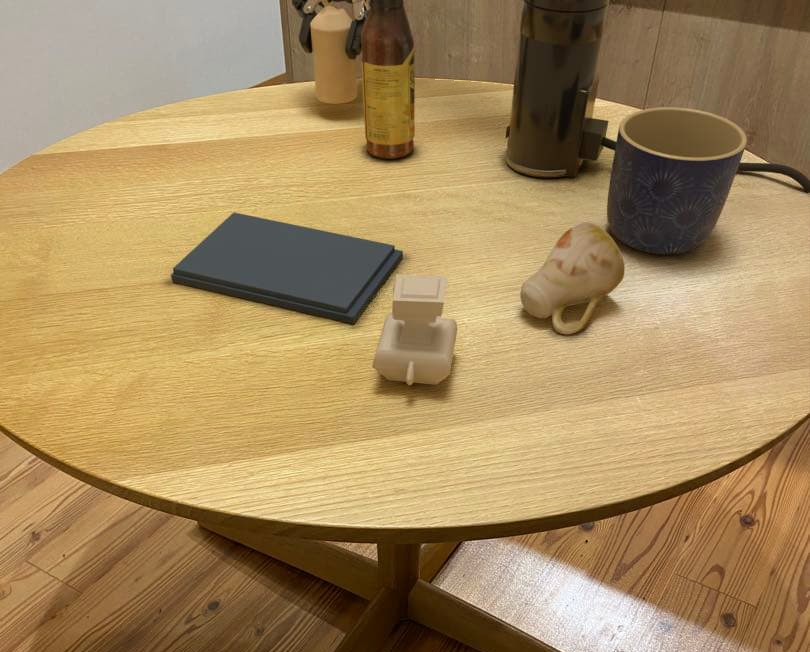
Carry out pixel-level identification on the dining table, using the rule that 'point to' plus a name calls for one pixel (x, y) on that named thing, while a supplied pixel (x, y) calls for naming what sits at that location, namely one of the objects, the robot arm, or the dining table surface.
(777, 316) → the dining table surface
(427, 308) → the beige blocky piece
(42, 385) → the dining table surface
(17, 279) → the dining table surface
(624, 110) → the dining table surface
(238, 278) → the dark grey rectangular slab
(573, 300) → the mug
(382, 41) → the sauce bottle
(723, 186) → the planter
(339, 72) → the candle
